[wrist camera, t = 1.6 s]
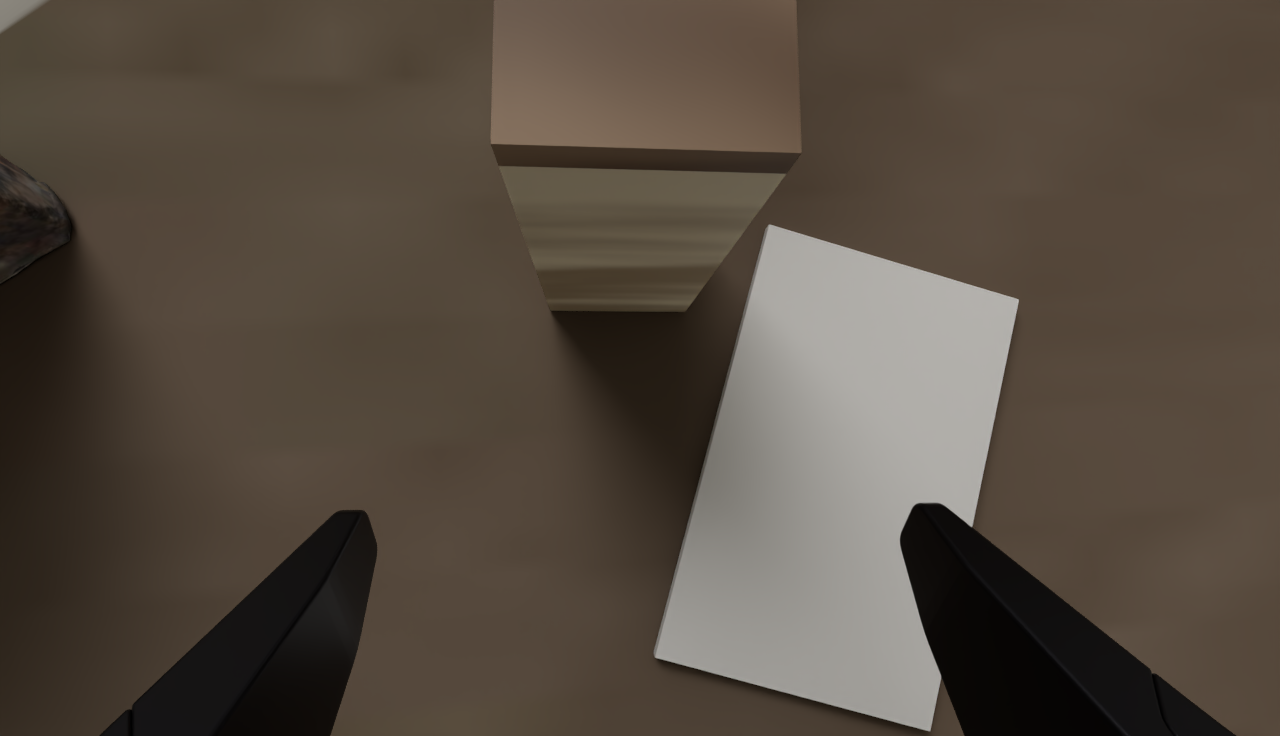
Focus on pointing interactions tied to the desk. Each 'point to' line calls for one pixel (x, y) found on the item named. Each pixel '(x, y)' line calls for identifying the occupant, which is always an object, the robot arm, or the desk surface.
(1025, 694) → the robot arm
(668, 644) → the grey board
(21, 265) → the stone block
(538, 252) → the birch block
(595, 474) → the desk surface
